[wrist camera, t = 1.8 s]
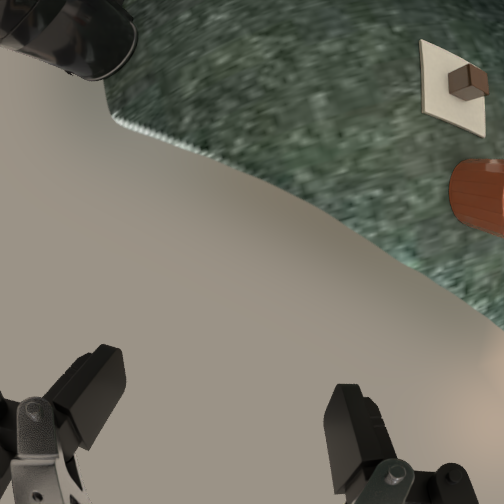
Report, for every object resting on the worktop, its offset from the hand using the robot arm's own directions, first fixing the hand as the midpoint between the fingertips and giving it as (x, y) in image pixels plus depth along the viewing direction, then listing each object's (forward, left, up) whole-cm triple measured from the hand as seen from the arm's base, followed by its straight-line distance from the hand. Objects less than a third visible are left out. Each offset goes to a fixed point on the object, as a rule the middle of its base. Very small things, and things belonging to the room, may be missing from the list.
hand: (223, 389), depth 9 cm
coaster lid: (-23, +23, -22) cm, 39 cm away
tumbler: (-10, +27, -22) cm, 36 cm away
